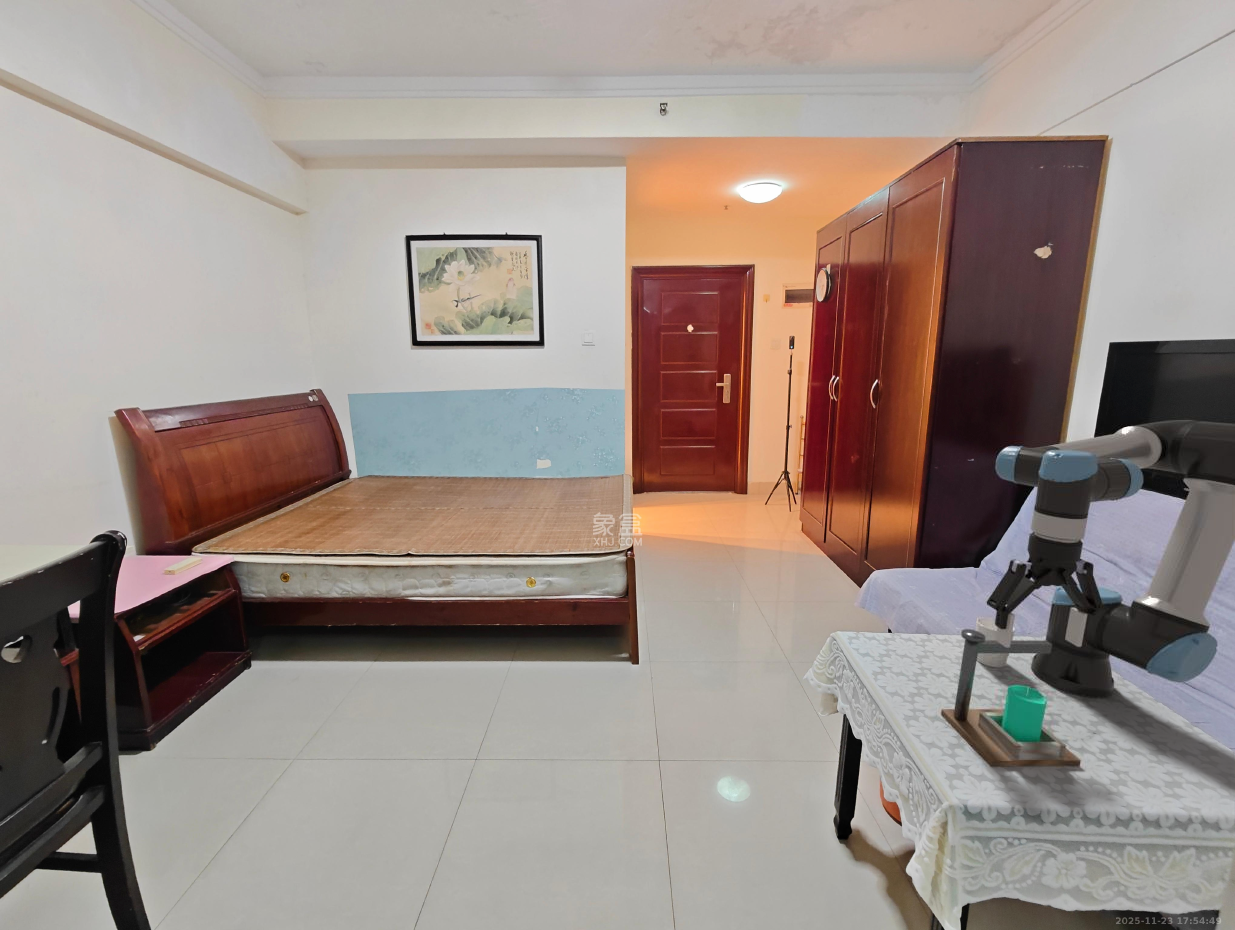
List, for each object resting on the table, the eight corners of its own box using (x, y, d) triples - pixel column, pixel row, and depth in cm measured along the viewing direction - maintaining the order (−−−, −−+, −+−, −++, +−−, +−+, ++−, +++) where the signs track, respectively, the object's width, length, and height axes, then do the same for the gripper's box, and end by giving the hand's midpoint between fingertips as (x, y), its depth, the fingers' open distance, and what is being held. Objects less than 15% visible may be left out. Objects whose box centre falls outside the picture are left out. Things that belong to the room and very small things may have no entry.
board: (1018, 714, 114) (1021, 696, 114) (1079, 766, 100) (1083, 746, 99) (940, 714, 114) (943, 696, 113) (991, 766, 99) (994, 746, 98)
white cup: (1015, 671, 131) (1021, 633, 129) (979, 667, 132) (985, 630, 130) (999, 654, 138) (1005, 618, 136) (965, 650, 140) (971, 615, 138)
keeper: (1027, 710, 113) (1042, 629, 110) (1042, 723, 109) (1059, 639, 106) (944, 710, 113) (957, 629, 109) (957, 723, 109) (970, 639, 105)
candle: (1011, 750, 102) (1021, 694, 99) (993, 729, 107) (1002, 676, 105) (1045, 753, 101) (1056, 697, 99) (1025, 732, 107) (1035, 678, 105)
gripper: (1104, 529, 100) (1084, 632, 104) (974, 529, 100) (959, 633, 104) (1143, 542, 93) (1121, 653, 97) (1004, 543, 92) (987, 654, 96)
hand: (1037, 643), depth 100 cm, fingers open, 13 cm apart
